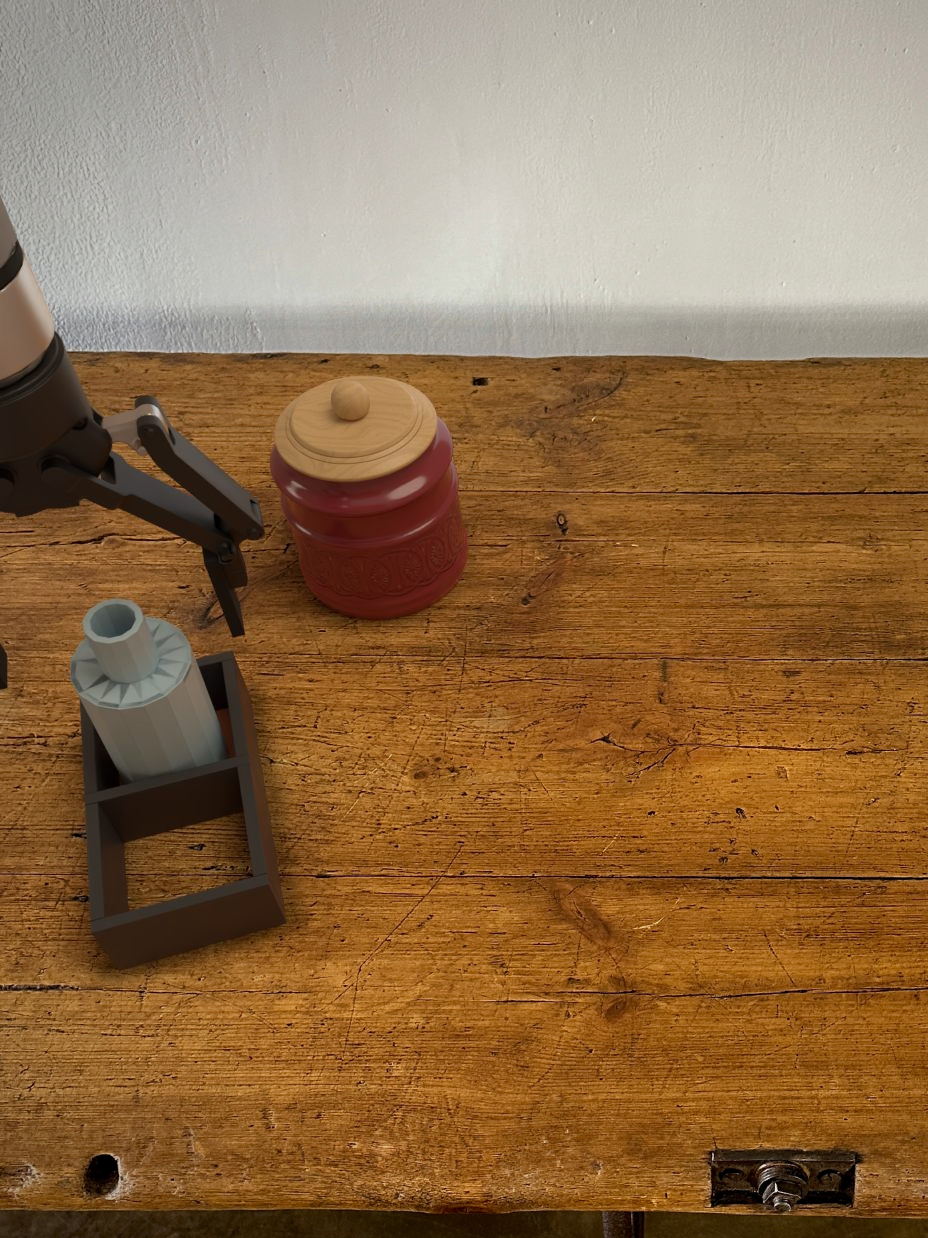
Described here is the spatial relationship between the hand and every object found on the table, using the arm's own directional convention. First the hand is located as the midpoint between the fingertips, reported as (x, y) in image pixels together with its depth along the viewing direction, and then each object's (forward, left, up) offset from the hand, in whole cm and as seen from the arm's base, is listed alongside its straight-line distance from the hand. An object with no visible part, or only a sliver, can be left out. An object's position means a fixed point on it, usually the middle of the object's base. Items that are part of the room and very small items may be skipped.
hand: (121, 646), depth 73 cm
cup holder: (+3, -4, -13) cm, 14 cm away
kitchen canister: (+7, +22, -13) cm, 26 cm away
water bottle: (0, 0, -12) cm, 12 cm away
